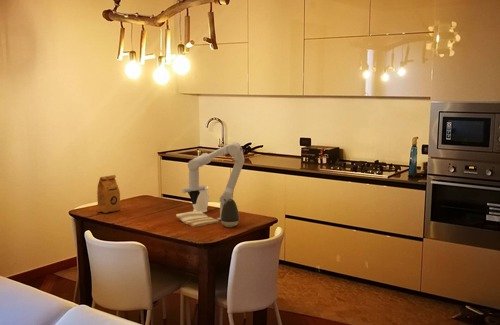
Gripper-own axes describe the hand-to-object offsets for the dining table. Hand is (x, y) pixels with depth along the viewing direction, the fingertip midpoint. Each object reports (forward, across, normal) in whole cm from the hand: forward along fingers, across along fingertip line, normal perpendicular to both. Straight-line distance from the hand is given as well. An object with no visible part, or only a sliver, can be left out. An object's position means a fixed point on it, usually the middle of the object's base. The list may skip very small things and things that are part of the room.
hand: (194, 203), depth 299 cm
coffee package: (+9, +31, -46) cm, 56 cm away
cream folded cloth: (+7, +2, +2) cm, 8 cm away
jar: (+9, -12, -12) cm, 19 cm away
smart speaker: (+9, -6, +26) cm, 28 cm away
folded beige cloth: (+8, +2, +12) cm, 15 cm away
